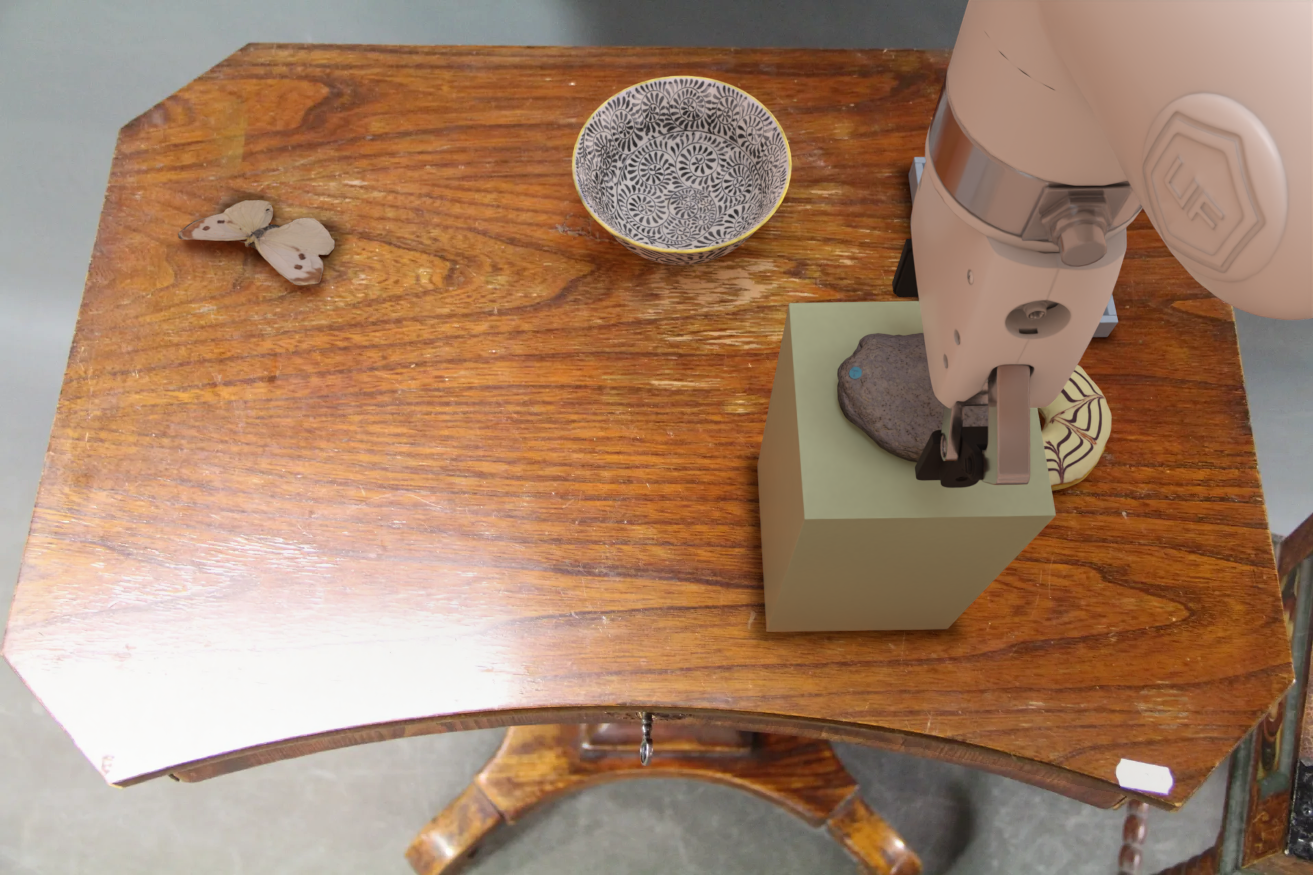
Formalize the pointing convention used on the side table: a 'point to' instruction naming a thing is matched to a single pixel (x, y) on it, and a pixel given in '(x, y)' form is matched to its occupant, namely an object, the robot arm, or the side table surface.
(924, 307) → the robot arm
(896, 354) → the stone
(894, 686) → the side table surface
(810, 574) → the stand
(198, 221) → the butterfly
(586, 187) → the bowl
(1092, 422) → the decorated donut
